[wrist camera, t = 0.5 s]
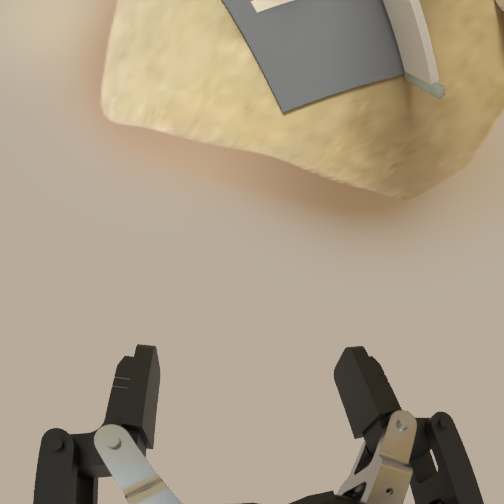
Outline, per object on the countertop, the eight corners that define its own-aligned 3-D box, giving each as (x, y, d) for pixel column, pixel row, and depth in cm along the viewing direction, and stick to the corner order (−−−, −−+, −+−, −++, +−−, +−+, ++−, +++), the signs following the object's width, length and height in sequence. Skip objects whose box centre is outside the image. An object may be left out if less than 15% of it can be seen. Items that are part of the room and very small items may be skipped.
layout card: (192, -45, 15) (191, -46, 15) (366, -83, 10) (368, -85, 9) (282, 110, 31) (282, 112, 31) (425, 68, 25) (428, 69, 25)
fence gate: (375, -13, 17) (405, -14, 13) (387, -14, 17) (419, -15, 12) (405, 82, 26) (434, 99, 22) (416, 80, 26) (446, 97, 22)
